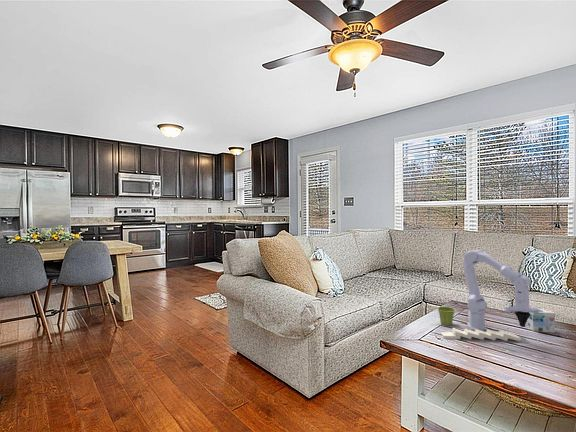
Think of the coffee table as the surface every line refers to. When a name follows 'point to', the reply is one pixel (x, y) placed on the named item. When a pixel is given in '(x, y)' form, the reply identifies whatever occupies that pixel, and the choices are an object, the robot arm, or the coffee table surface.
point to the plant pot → (446, 315)
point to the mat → (494, 340)
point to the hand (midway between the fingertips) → (522, 326)
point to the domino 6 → (509, 335)
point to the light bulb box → (542, 321)
